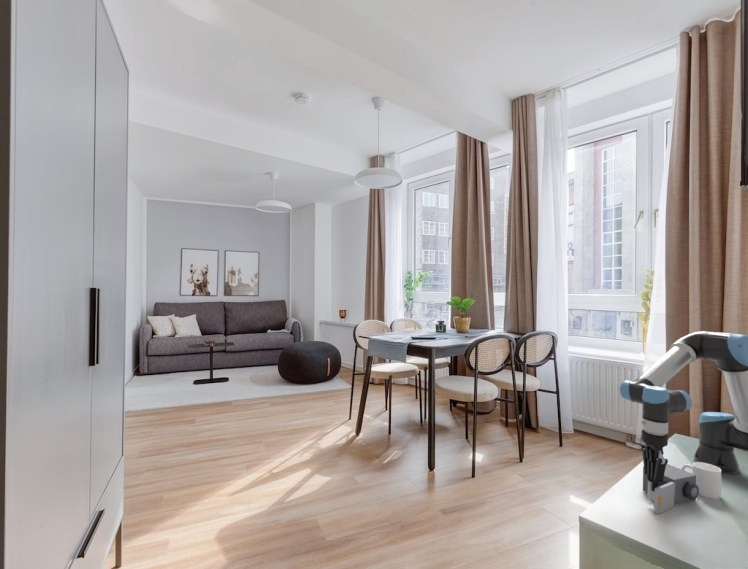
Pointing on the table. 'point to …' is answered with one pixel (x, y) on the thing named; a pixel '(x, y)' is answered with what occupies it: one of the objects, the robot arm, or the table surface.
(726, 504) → the table surface
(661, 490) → the side door
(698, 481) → the cup
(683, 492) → the camera body
